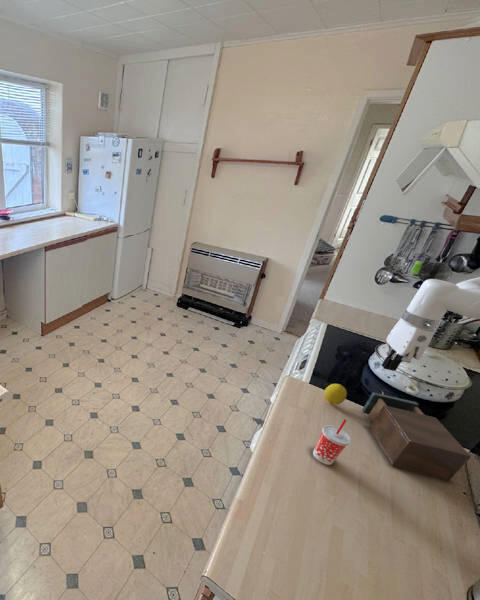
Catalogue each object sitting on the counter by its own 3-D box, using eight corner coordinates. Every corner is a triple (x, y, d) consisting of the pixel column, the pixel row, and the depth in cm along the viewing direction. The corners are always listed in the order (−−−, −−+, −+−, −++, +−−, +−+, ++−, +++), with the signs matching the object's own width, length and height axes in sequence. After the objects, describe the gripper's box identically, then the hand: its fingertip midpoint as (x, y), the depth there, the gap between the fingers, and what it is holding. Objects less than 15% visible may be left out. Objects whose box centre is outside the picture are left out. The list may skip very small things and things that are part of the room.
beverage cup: (339, 470, 84) (364, 432, 78) (313, 462, 86) (335, 425, 80) (331, 451, 89) (354, 415, 83) (306, 444, 91) (327, 408, 85)
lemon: (341, 403, 108) (351, 385, 104) (338, 412, 104) (349, 393, 100) (321, 394, 111) (331, 376, 107) (319, 402, 107) (329, 384, 104)
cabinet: (368, 428, 99) (383, 404, 94) (417, 441, 95) (435, 417, 91) (391, 465, 87) (410, 440, 83) (448, 481, 84) (471, 456, 79)
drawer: (355, 401, 108) (366, 383, 104) (396, 411, 105) (408, 393, 102) (380, 440, 93) (394, 420, 90) (428, 452, 91) (443, 433, 87)
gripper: (452, 335, 89) (415, 386, 97) (419, 311, 101) (389, 358, 110) (419, 328, 90) (386, 379, 99) (391, 306, 103) (364, 352, 111)
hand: (387, 368), depth 104 cm, fingers closed
